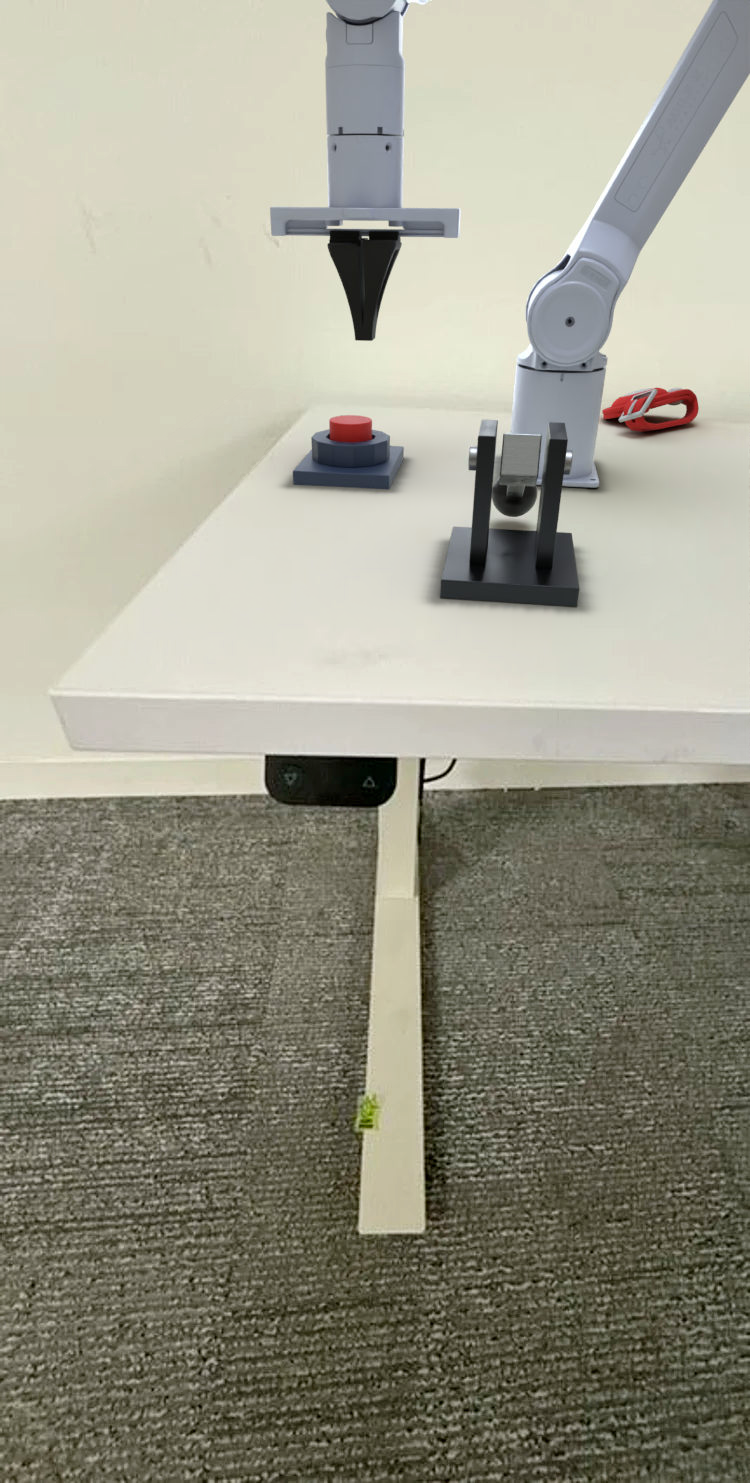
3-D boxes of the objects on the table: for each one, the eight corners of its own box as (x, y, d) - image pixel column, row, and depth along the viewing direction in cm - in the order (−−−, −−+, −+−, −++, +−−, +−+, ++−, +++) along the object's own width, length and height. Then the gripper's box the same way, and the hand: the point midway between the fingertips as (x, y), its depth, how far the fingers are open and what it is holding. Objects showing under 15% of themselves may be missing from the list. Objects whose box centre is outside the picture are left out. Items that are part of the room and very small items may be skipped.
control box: (317, 455, 80) (316, 421, 78) (403, 459, 79) (404, 425, 77) (293, 485, 71) (291, 448, 70) (388, 490, 70) (389, 452, 69)
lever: (489, 519, 63) (493, 474, 63) (533, 521, 63) (537, 476, 62) (490, 481, 50) (495, 425, 50) (546, 484, 50) (551, 427, 50)
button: (334, 435, 75) (333, 414, 75) (374, 437, 75) (374, 416, 74) (326, 445, 72) (325, 423, 72) (368, 446, 72) (368, 425, 71)
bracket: (452, 543, 60) (459, 409, 55) (569, 549, 59) (587, 414, 54) (439, 598, 51) (447, 446, 47) (577, 607, 50) (598, 452, 46)
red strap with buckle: (587, 402, 96) (675, 379, 96) (594, 443, 98) (680, 420, 97) (622, 396, 85) (722, 369, 84) (629, 442, 86) (727, 416, 86)
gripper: (255, 134, 61) (267, 343, 69) (460, 133, 60) (450, 348, 67) (278, 140, 67) (287, 332, 74) (465, 140, 66) (455, 336, 73)
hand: (365, 339), depth 71 cm, fingers closed
